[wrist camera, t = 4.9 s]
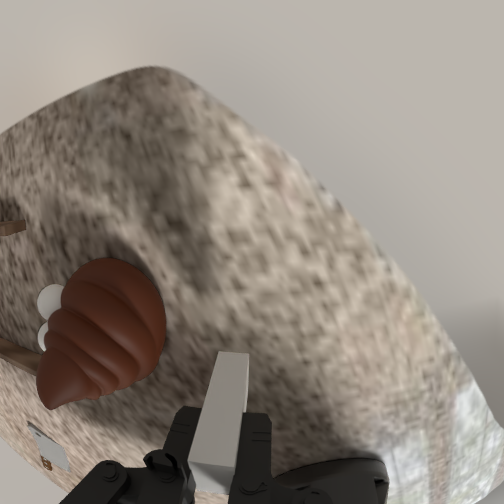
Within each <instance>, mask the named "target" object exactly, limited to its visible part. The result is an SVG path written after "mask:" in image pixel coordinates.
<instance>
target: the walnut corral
mask: <svg viewBox="0 0 504 504" xmlns="http://www.w3.org/2000/svg"><path fill="white" fill-rule="evenodd" d="M23 230H26V225H25V220H17V221H2V222H0V236H8V235H11V234H14V233H17V232H20V231H23ZM41 357H42V355H40V354H37V353H35V352H32V351H30V350H28V349H25V348H23V347H21V346H18V345H16V344H14V343H12V342H10V341H8V340H5V339H3V338H1V337H0V358H2V359H4V360H5V361H7V362H9V363H11V364H13V365H14V366H16V367H18V368H20V369H22V370H24V371H26V372H28V373H30V374H32V375H34V376H36V375H37V369H38V365H39V362H40V359H41Z"/></svg>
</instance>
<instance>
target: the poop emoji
mask: <svg viewBox="0 0 504 504" xmlns="http://www.w3.org/2000/svg"><path fill="white" fill-rule="evenodd" d="M37 307H38V310H39V313H40V314H41V316H42V317H43V318H44V319H46V320H48V322H46V323H44V324H42V325H41V327H40V328H39V330H38V343H39V345H40V347H41V349H42V350H43V351H44V353H43V355H42V357H41V359H40V362H39V365H38V369H37V375H36V386H37V391H38V395H39V397H40V400H41V401H42V403H43V404H44V406H45V407H46V408H47V409H49V410H53V409H55V408H57V407H59V406H61V405H63V404H65V403H68V402H73V401H78V400H82V399H85V398H87V399H91V400H97V399H99V397H100V396H104V395H109V394H111V393H113V392H114V391H115V390H121V389H124V388H127V387H129V386H130V385H131V384H132V383H133V382H136V381H139V380H142V379H144V378H145V377H147V376H148V375H149V374H151V373H152V371H153V370H154V369H155V367H156V366H157V363H158V361H159V357H160V355H161V352H162V350H163V346H164V342H165V337H166V315H165V310H164V306H163V303H162V300H161V298H160V295H159V293H158V292H157V290H156V288H155V287H154V285H153V284H152V283H151V281H150V280H149V279H148V278H147V277H146V276H145V275H144V274H143V273H142V272H141V271H140V270H138V269H137V268H135V267H134V266H132V265H131V264H129V263H127V262H124V261H122V260H118V259H114V258H100V259H95V260H93V261H90V262H88V263H86V264H85V265H83V266H82V267H80V268H79V269H78V270H77V271H76V272H75V273H74V274H73V275H72V276H71V278H70V279H69V281H68V282H67V284H66V286H65V287H64V286H62V285H58V284H53V285H49V286H47V287H45V288H43V289H42V290H41V291H40V293H39V295H38V300H37Z"/></svg>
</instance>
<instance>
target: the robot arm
mask: <svg viewBox="0 0 504 504" xmlns="http://www.w3.org/2000/svg"><path fill="white" fill-rule="evenodd" d="M248 376H249V354H248V353H234V352H222V351H219V352H218V356H217V359H216V363H215V366H214V370H213V373H212V377H211V380H210V384H209V387H208V390H207V394H206V397H205V401H204V404H203V408H195V407H188V406H183V407H182V408H181V409H180V410H179V411H178V412H177V413H176V415H175V417H174V420H173V424H172V425H171V428H170V431H169V433H168V436H167V439H166V441H165V444H164V447H163V449H158V450H154V451H151V452H150V453H148V454H146V456H145V457H144V458H143V461H144V462H145V464H146V466H147V467H143V468H127V467H124V466H122V465H121V464H120V463H118V462H116V461H113V460H106V461H102V462H100V463H98V464H97V465H96V466H95V467H94V468H93V469H92V470H91V471H90V472H89V473H88V474H87V475H86V476H85V477H84V479H83V480H82V481H81V482H80V483H79V484H78V485H77V486H76V487H75V488H74V489H73V490H72V491H71V492H70V493H69V494H68V495H67V496H66V497H65V498H64V499H63V500H62V501H61V502H60V503H59V504H195V498H194V492H195V488H196V489H197V491H203V492H210V493H217V494H225V495H229V499H228V504H387V497H388V490H389V477H388V473H387V470H386V467H385V465H384V464H383V463H382V462H380V461H377V460H372V459H344V460H336V461H330V462H324V463H319V464H314V465H310V466H306V467H303V468H299V469H296V470H293V471H290V472H288V473H285V474H283V475H281V476H279V477H277V478H275V479H273V477H272V475H271V429H272V422H271V421H270V419H269V417H268V415H267V414H264V413H246V405H247V397H248Z"/></svg>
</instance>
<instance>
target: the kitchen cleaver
mask: <svg viewBox="0 0 504 504" xmlns="http://www.w3.org/2000/svg"><path fill="white" fill-rule="evenodd" d="M27 427H28V428H29V430H30V431H31V433H32V435H33V437H34V438H35V440H36V442H37V445H38V447H39V450H40V454H41V458H42V462H43V466H44V467H45V468H47V469H48V470H50V471H52V467H51V463H50V462H52V463H53V464H55V465H57V466H59V467H61V468H62V469H64V470H66V471H68V472H70V467H69V462H68V459H67V456H66V453H65V450H64V448H63V447H62V446H60V445H59V444H58V443H56V442H55V441H53V440H52V439H51V438H49V437H48V436H47V435H45V434H44V433H43V432H42V431H40V430H39V429H38V428H37V427H35V426H34V425H33V424H28V426H27Z"/></svg>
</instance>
